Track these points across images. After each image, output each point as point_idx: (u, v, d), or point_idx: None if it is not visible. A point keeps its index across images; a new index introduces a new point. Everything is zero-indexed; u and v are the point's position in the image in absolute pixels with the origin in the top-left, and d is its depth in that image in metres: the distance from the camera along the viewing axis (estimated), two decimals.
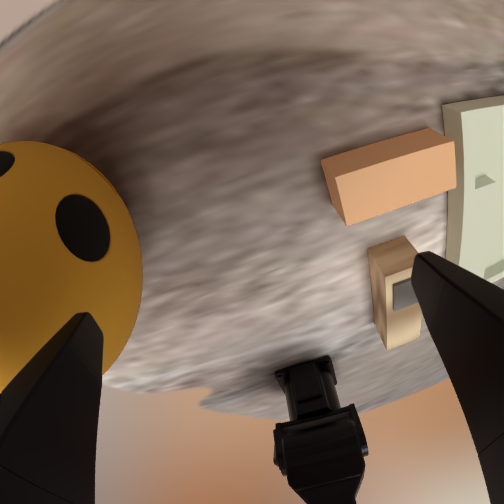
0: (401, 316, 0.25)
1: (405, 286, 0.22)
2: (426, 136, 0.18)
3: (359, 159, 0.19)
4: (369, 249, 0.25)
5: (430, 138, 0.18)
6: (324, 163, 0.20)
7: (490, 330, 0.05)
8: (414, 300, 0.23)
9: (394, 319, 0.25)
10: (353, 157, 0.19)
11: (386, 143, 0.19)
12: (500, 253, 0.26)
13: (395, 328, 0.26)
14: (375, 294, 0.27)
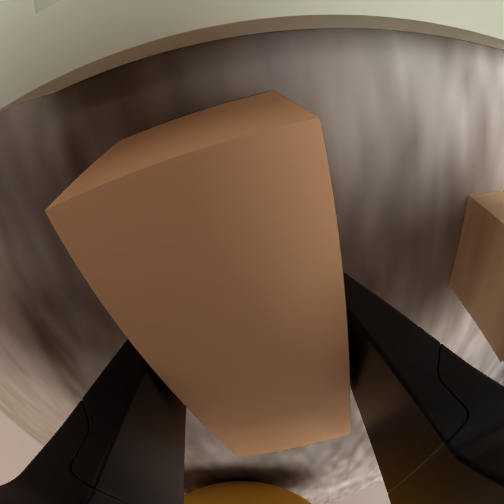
0: None
1: None
2: None
3: None
4: (451, 285, 0.10)
5: None
6: None
7: (380, 370, 0.05)
8: None
9: None
10: None
11: None
12: None
13: None
14: None
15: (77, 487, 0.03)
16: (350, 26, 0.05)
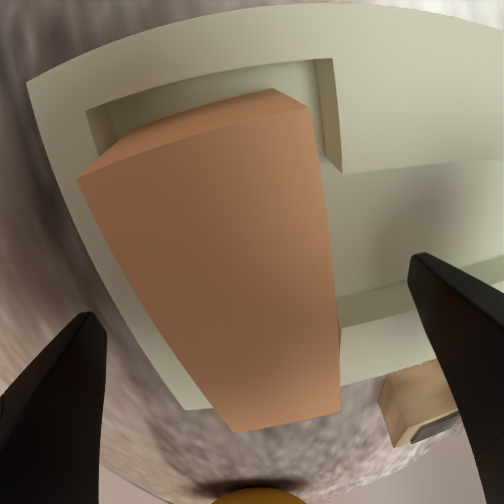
0: None
1: (422, 436, 0.14)
2: None
3: None
4: (379, 403, 0.18)
5: None
6: None
7: (486, 332, 0.05)
8: (455, 418, 0.14)
9: None
10: None
11: None
12: None
13: None
14: None
15: None
16: None
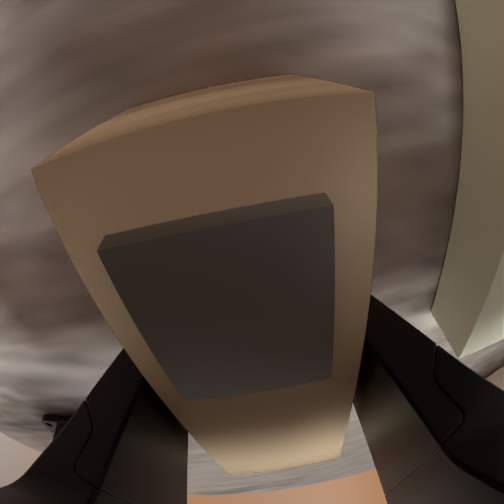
0: (246, 416, 0.06)
1: (205, 267, 0.03)
2: None
3: None
4: (128, 109, 0.06)
5: None
6: None
7: (376, 371, 0.05)
8: (299, 370, 0.04)
9: (215, 419, 0.06)
10: None
11: None
12: None
13: (235, 441, 0.07)
14: None
15: (81, 489, 0.03)
16: None
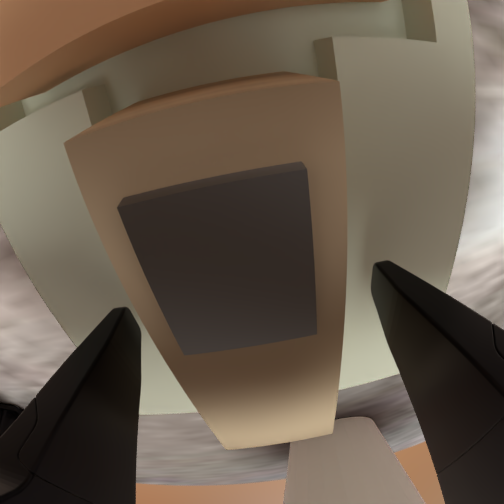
0: (241, 378, 0.06)
1: (204, 220, 0.04)
2: None
3: None
4: (138, 102, 0.06)
5: None
6: None
7: (442, 349, 0.05)
8: (287, 323, 0.05)
9: (212, 382, 0.06)
10: None
11: None
12: None
13: (231, 409, 0.07)
14: None
15: (20, 472, 0.03)
16: None
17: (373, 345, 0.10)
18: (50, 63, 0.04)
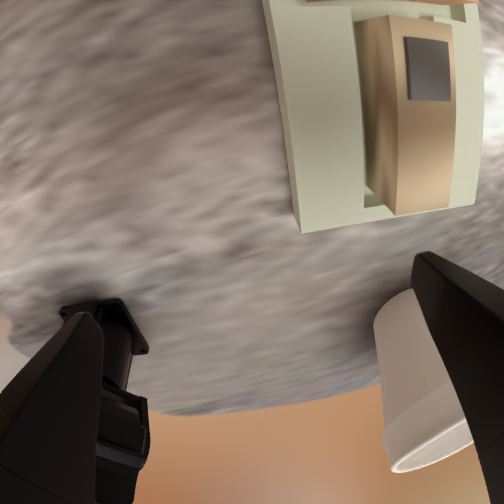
0: (422, 128, 0.12)
1: (426, 47, 0.10)
2: None
3: None
4: (359, 21, 0.12)
5: None
6: None
7: (490, 330, 0.05)
8: (443, 92, 0.11)
9: (411, 129, 0.12)
10: None
11: None
12: None
13: (412, 156, 0.13)
14: (372, 102, 0.14)
15: None
16: (265, 15, 0.13)
17: None
18: None
